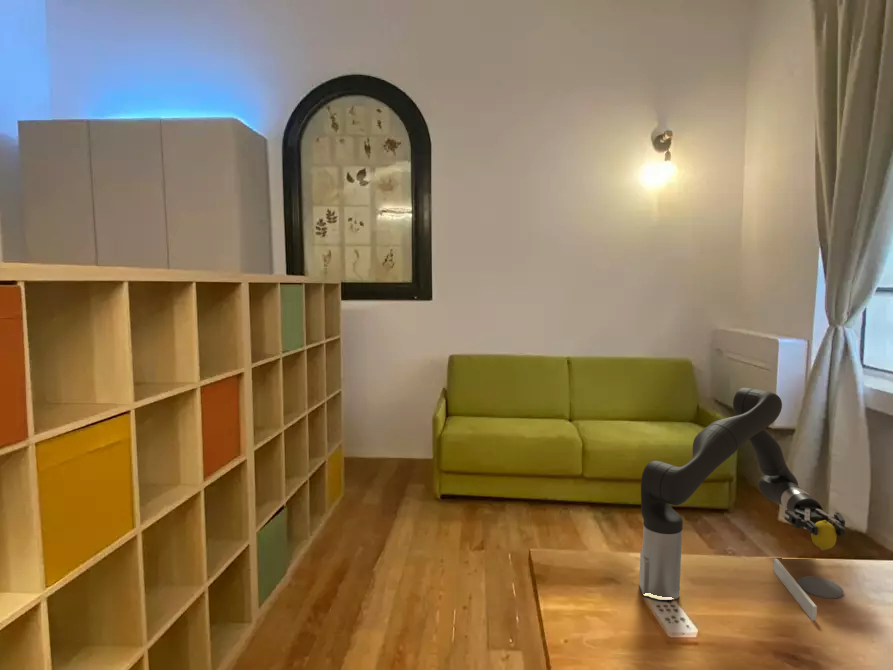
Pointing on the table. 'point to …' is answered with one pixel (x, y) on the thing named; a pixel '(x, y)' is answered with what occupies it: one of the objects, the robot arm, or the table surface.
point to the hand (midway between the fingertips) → (829, 532)
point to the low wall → (795, 590)
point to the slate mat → (820, 587)
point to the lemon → (824, 535)
